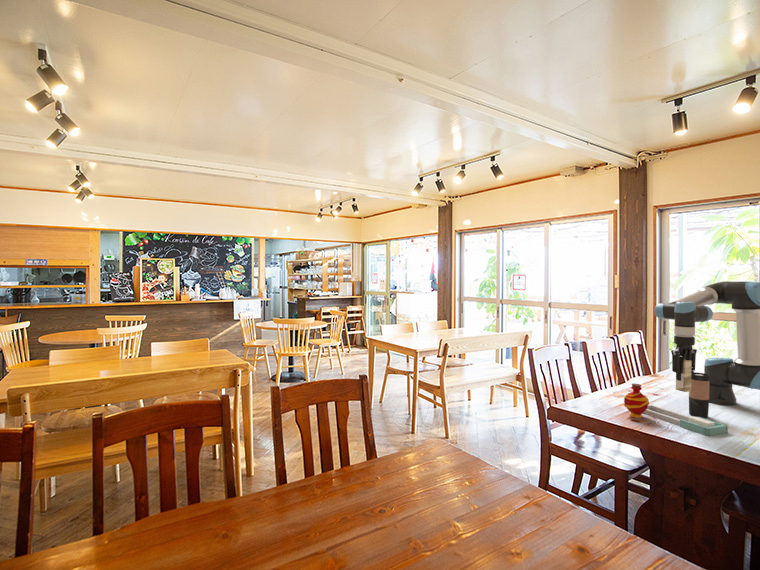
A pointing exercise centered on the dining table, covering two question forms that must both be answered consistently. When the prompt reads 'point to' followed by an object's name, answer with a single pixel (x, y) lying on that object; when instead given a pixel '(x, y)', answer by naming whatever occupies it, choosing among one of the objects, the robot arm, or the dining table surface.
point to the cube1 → (694, 419)
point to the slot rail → (667, 412)
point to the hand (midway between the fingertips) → (683, 386)
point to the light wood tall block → (686, 376)
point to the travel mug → (699, 395)
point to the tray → (705, 428)
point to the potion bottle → (636, 401)
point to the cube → (705, 423)
